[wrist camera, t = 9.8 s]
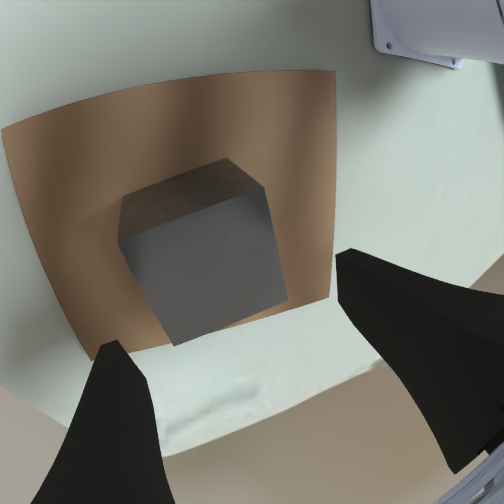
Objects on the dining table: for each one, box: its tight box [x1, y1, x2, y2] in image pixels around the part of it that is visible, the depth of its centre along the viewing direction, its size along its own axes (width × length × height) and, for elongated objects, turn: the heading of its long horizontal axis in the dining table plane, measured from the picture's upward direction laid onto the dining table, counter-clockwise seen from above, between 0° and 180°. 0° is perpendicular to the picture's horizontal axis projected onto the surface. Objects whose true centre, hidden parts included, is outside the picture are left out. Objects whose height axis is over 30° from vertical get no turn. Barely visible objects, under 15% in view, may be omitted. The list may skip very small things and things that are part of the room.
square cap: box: [117, 158, 288, 346], centre depth 14 cm, size 5×5×5 cm
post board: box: [1, 70, 337, 361], centre depth 15 cm, size 17×15×4 cm
